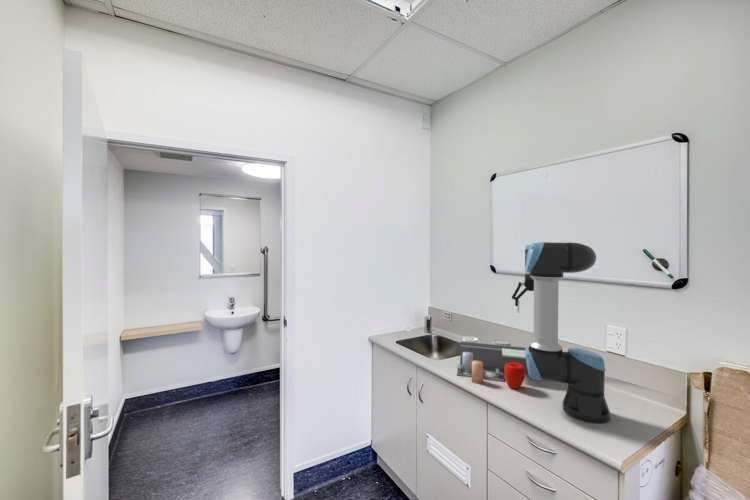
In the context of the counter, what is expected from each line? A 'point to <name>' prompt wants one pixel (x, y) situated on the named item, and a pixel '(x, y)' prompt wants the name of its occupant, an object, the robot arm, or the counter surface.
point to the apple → (514, 374)
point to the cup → (471, 339)
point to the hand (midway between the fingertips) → (532, 313)
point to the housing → (486, 359)
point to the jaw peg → (477, 372)
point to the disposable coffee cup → (501, 342)
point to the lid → (513, 353)
